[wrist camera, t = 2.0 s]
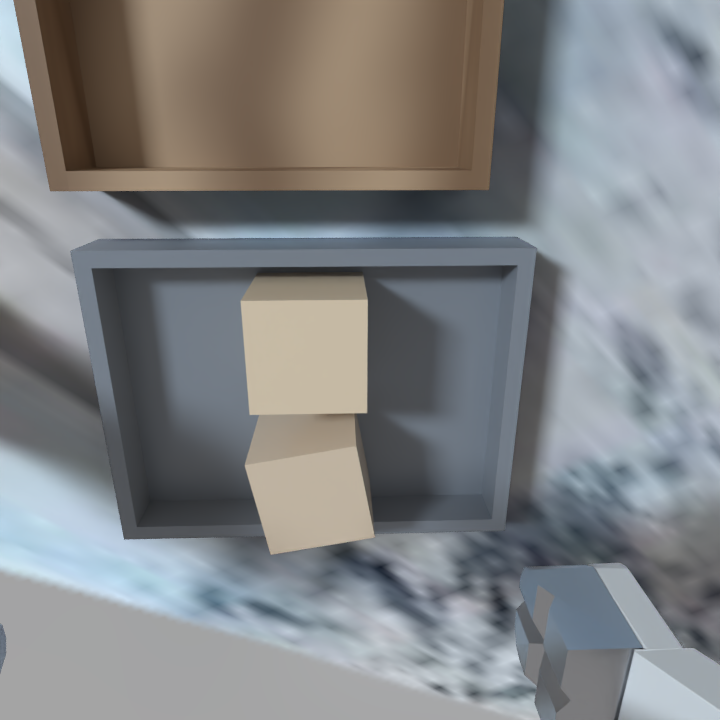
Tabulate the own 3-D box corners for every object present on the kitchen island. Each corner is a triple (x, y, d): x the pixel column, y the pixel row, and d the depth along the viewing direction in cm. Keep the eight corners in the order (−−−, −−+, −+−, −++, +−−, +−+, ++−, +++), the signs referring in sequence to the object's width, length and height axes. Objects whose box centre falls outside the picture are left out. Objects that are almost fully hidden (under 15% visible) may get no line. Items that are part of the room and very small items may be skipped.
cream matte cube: (362, 272, 22) (367, 299, 18) (362, 368, 23) (367, 413, 19) (257, 272, 21) (240, 301, 18) (264, 370, 23) (249, 415, 19)
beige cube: (353, 397, 24) (356, 446, 20) (369, 478, 25) (374, 537, 21) (259, 413, 24) (244, 465, 20) (280, 493, 25) (270, 554, 21)
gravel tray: (516, 237, 22) (537, 248, 20) (490, 497, 26) (504, 530, 24) (98, 239, 21) (70, 250, 19) (142, 504, 26) (124, 539, 24)
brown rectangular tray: (489, -115, 18) (517, -162, 15) (469, 183, 21) (489, 189, 18) (37, -122, 17) (-20, -172, 15) (89, 184, 21) (50, 191, 18)
